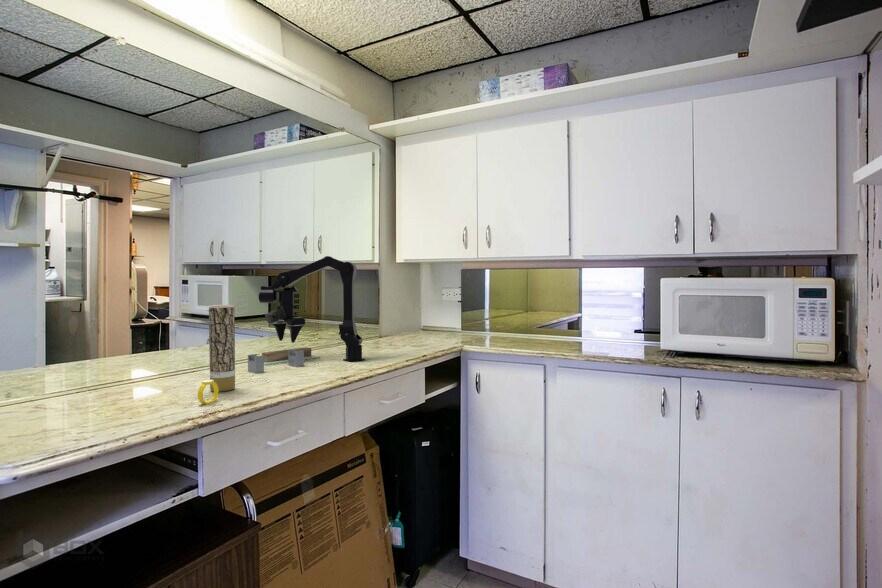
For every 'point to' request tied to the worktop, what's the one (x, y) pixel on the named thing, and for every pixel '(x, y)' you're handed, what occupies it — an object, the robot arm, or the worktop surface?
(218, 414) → the worktop surface
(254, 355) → the post
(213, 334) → the brown tall cylinder
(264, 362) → the mat
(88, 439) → the worktop surface
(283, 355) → the rail
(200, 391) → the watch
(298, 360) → the post
